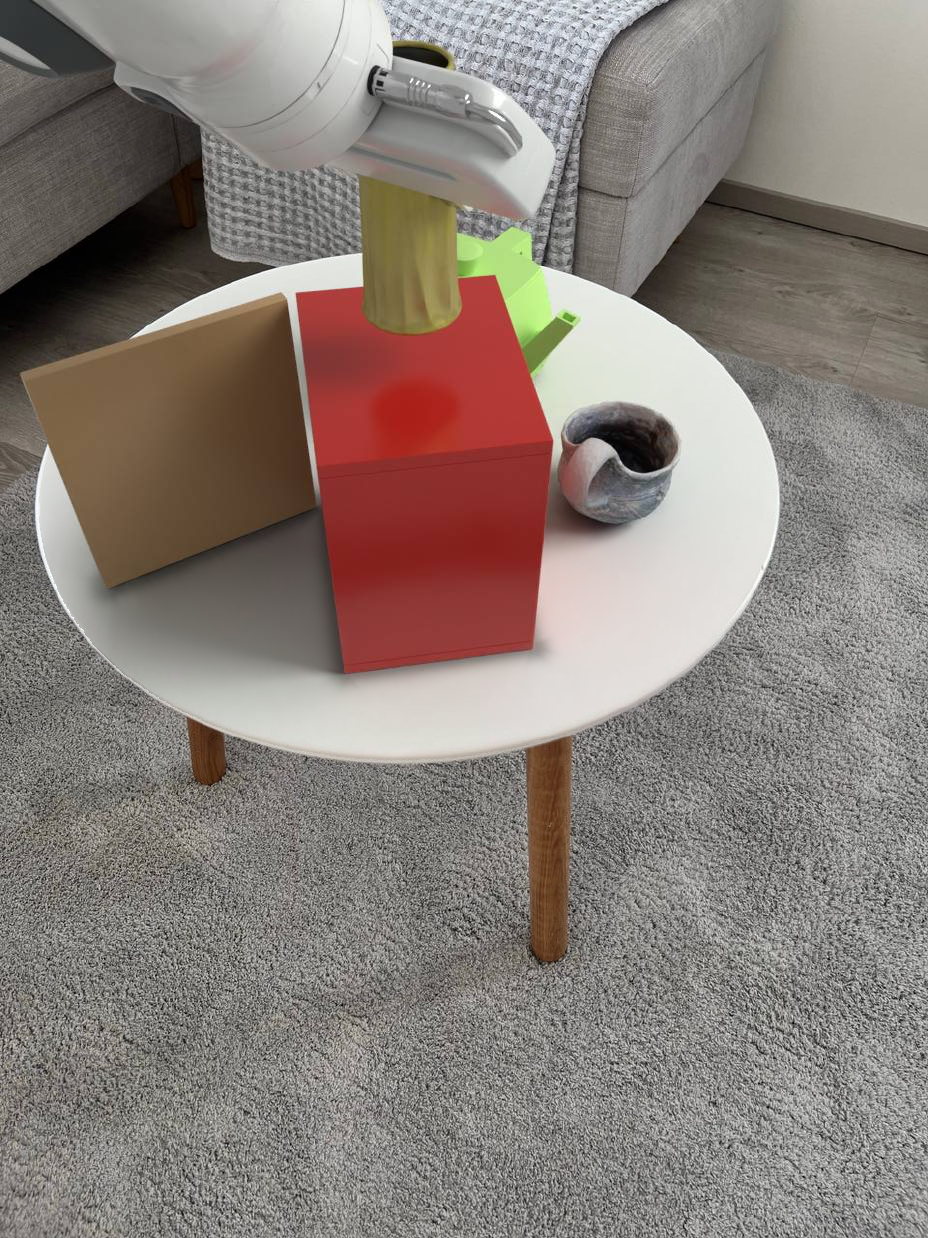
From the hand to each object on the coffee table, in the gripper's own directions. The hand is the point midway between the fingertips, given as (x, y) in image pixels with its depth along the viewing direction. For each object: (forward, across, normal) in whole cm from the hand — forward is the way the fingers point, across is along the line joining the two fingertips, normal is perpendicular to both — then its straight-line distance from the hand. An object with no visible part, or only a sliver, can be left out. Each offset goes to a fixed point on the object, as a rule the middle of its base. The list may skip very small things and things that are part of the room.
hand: (412, 179), depth 56 cm
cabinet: (+22, 0, +23) cm, 32 cm away
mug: (+31, -10, +14) cm, 36 cm away
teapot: (+38, +8, +6) cm, 40 cm away
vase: (+5, 0, +6) cm, 8 cm away
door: (+18, +18, +26) cm, 37 cm away
